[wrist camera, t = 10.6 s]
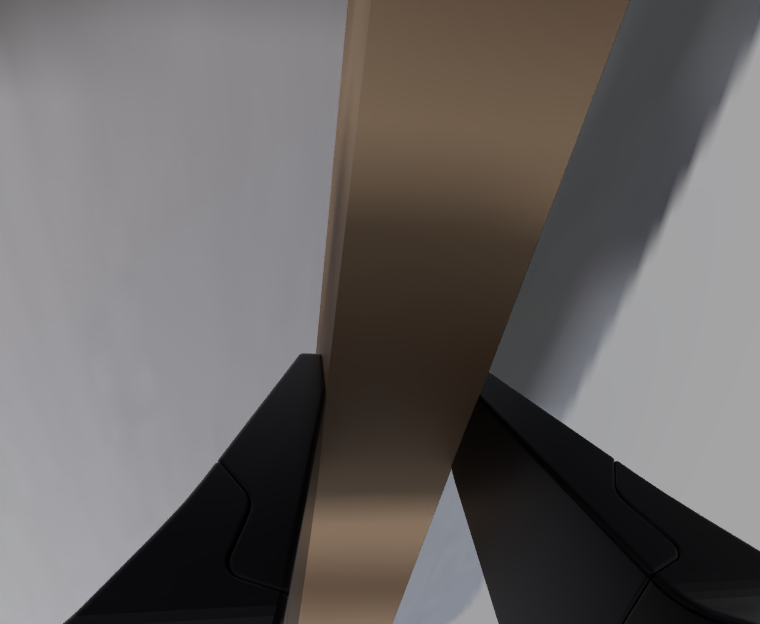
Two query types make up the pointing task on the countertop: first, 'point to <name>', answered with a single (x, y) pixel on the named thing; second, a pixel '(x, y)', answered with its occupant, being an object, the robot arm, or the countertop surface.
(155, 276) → the countertop surface
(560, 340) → the countertop surface
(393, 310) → the bar
